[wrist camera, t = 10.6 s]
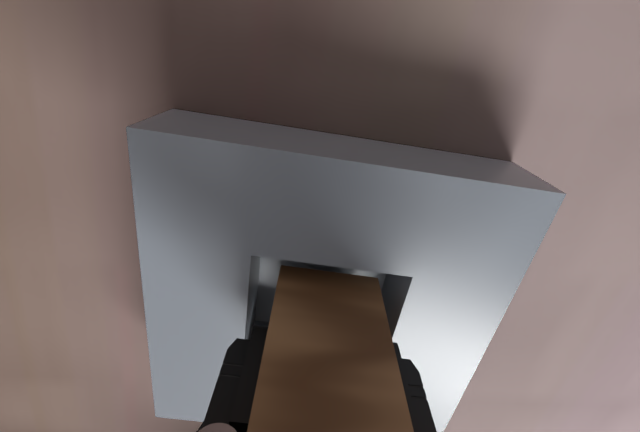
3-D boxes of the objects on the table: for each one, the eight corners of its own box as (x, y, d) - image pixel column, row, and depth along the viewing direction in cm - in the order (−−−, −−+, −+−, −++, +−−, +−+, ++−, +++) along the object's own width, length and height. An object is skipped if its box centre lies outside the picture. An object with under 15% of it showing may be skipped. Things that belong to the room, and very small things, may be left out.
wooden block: (377, 277, 14) (435, 524, 7) (358, 347, 16) (386, 601, 8) (280, 265, 14) (231, 505, 6) (272, 337, 15) (226, 589, 8)
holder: (512, 161, 14) (566, 193, 11) (418, 384, 20) (436, 446, 17) (172, 108, 13) (126, 127, 10) (182, 357, 19) (155, 417, 16)
